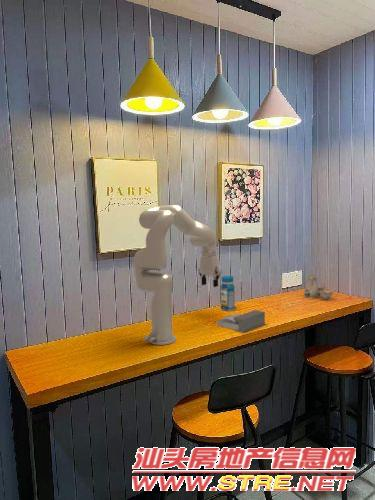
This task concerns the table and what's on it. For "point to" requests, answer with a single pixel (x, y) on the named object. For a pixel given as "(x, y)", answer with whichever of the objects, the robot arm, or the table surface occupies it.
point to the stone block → (230, 319)
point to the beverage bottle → (227, 294)
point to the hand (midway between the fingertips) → (209, 285)
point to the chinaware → (315, 289)
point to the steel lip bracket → (245, 321)
